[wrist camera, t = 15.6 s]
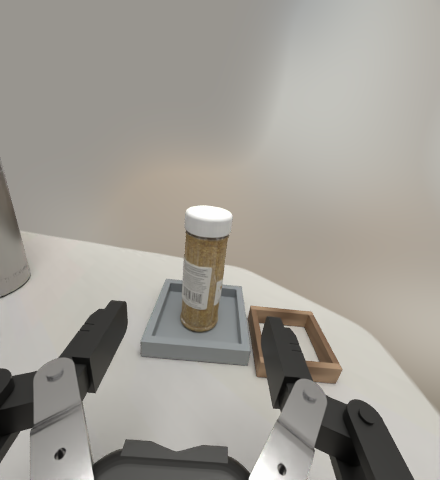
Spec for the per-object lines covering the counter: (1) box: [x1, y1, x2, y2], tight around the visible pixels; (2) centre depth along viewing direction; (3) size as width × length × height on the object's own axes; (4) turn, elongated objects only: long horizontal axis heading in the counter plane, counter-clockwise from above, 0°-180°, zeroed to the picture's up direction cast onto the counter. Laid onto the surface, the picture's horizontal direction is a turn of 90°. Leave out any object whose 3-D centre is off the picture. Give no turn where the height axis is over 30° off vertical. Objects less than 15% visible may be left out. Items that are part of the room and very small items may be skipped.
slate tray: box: [141, 279, 251, 365], centre depth 27 cm, size 11×11×2 cm
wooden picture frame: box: [248, 306, 342, 383], centre depth 25 cm, size 8×8×2 cm
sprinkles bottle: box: [180, 206, 233, 332], centre depth 24 cm, size 5×5×13 cm
